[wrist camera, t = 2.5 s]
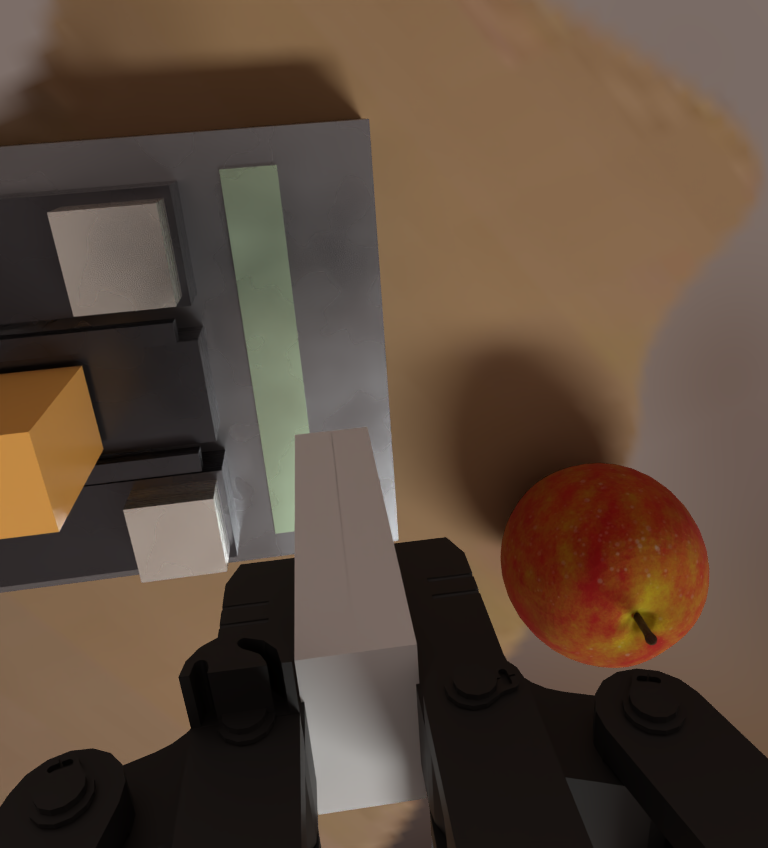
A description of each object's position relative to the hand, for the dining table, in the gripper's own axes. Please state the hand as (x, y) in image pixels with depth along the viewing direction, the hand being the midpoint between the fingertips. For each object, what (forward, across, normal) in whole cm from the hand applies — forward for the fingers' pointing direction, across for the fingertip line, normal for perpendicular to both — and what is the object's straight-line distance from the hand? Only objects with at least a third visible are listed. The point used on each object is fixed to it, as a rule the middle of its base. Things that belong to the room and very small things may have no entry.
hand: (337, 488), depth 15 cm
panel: (+10, -8, 0) cm, 13 cm away
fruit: (+11, +9, -8) cm, 16 cm away
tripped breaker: (+6, -8, 0) cm, 10 cm away
